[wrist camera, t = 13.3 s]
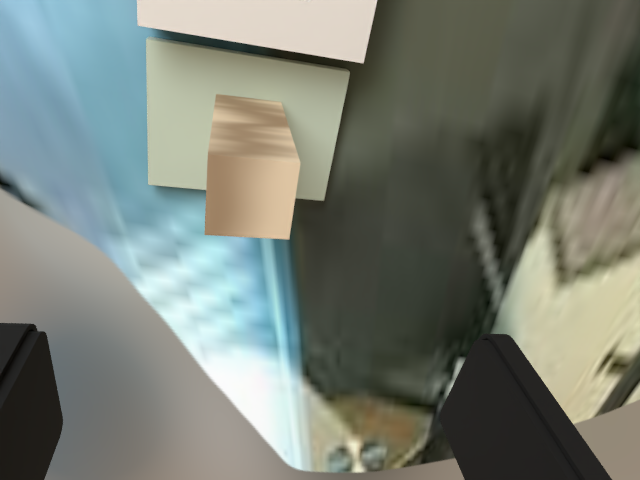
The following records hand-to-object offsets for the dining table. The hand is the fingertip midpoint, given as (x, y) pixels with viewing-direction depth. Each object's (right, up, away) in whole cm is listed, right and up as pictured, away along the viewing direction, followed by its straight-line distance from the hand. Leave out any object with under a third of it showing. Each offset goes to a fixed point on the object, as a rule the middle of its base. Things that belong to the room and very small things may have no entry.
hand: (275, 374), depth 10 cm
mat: (-4, +11, +20) cm, 23 cm away
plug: (-4, +10, +19) cm, 22 cm away
